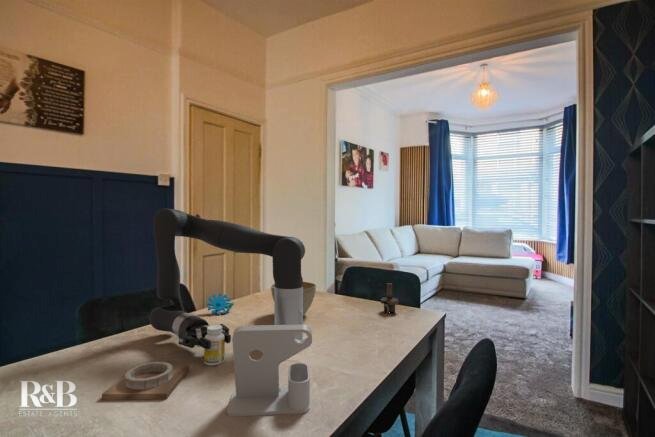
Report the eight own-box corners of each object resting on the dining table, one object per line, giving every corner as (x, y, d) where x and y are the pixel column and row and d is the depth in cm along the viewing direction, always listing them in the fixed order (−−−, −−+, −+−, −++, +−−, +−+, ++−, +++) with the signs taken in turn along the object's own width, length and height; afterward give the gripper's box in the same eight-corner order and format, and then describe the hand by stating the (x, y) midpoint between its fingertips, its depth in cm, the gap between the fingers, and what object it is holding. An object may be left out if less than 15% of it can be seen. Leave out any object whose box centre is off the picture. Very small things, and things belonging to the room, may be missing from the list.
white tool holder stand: (309, 389, 83) (310, 312, 82) (311, 413, 72) (312, 326, 72) (234, 392, 81) (234, 314, 81) (225, 417, 71) (225, 328, 71)
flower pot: (324, 313, 145) (324, 284, 145) (297, 324, 130) (297, 292, 130) (289, 306, 155) (290, 279, 155) (261, 316, 140) (261, 286, 139)
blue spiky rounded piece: (205, 312, 139) (207, 291, 146) (203, 320, 143) (205, 299, 149) (234, 314, 143) (234, 293, 150) (231, 321, 146) (232, 300, 153)
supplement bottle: (211, 367, 93) (211, 331, 93) (200, 362, 96) (200, 327, 96) (228, 361, 97) (228, 326, 97) (217, 356, 101) (217, 322, 100)
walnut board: (189, 370, 92) (189, 358, 91) (166, 398, 78) (166, 384, 78) (134, 371, 91) (134, 358, 91) (101, 399, 77) (101, 385, 77)
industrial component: (389, 308, 153) (389, 281, 153) (402, 312, 148) (402, 283, 148) (374, 312, 148) (374, 283, 147) (387, 316, 142) (387, 286, 142)
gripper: (166, 320, 101) (194, 335, 90) (212, 310, 112) (242, 322, 100) (166, 346, 101) (194, 364, 90) (212, 334, 112) (242, 348, 100)
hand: (219, 342), depth 95 cm, fingers closed on supplement bottle, 5 cm apart
